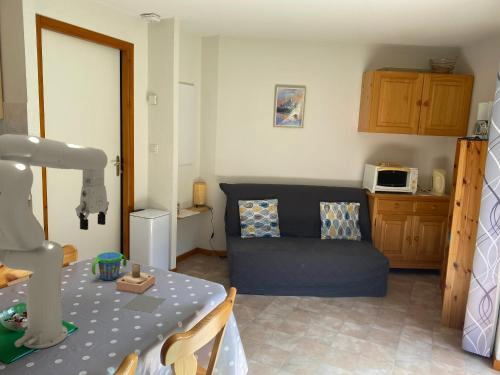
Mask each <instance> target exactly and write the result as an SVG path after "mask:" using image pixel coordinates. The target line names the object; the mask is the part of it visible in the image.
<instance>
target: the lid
mask: <svg viewBox="0 0 500 375" xmlns="http://www.w3.org/2000/svg"><path fill="white" fill-rule="evenodd" d="M131 272H132V273H130V272H129V273H127V274H125V275H124V276H123V277H124V281H125V282H127V283H142V282H145V281H147V280H148V273H145V272H141V264H139V263H134V264H132V265H131Z"/></svg>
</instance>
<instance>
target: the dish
mask: <svg viewBox="0 0 500 375" xmlns="http://www.w3.org/2000/svg"><path fill="white" fill-rule="evenodd" d="M129 273H132V271H131V272H129ZM147 274H148V273H147ZM155 284H156V275H154V274H148V280H147V281H145V282H142V283H127V282H125V281H124V276H123V277H121V278H119V279H118V280H116V281H115V290H116V291H119V292H120V291H121V292H125V293H131V294H136V295H139V294H140V295H143V294H144V293H145V292H146V291H148V290H149V289H150V288H151V287H153V286H154V285H155Z"/></svg>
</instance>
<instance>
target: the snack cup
mask: <svg viewBox="0 0 500 375" xmlns="http://www.w3.org/2000/svg"><path fill="white" fill-rule="evenodd" d="M122 259H123V261H122ZM127 263H128V262H127V258H126V256H125V255H124V254H122V253H120V252H116V251H114V252H113V251H109V252H106V251H105V252H102V253H100V254H97V256H96V259H95V260H93V263H92V265H91V273H92V274H93V275H96V265H98V270H99V276H100V278H101V280H104V281H111V280H115V279H118V278H119V275H120V271H121V264H122V266H123V267H124V268H126V267H127V265H128V264H127Z"/></svg>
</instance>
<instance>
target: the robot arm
mask: <svg viewBox="0 0 500 375" xmlns="http://www.w3.org/2000/svg"><path fill="white" fill-rule="evenodd" d="M108 160H109V159H108V156H107V154H106V152H105V151H104V150H103V149H99V148H96V147H95V148H94V147H91V146H85V145H80V144H74V143H70V142H64V141H59V140H54V139H48V138H45V137H41V136H36V135H31V134H30V135H26V134H11V133H10V134H9V133H5V134H2V135H0V264H1V265H3V266H4V267H5V268H7V269H11V270H17V271H26V272H31V273H32V275H31V277H30V278H29V280H28V281H27V283H26V286H25V295H26V316H27V317H26V320H27V321H26V322H27V323H26V324H27V328H26V329H25V330H24V334H23V336H22V337H20V338H19V339H17V340H16V341H14V346H15V347H16V348H19V347H22V346H24V347H25V348H29V349H46V348H50V347H53V346H55V345H58V344H60V343H61V342H63V341H64V340H65V339H66V338H67V336H68V332H69V331H68V328H67V327H66V326H64V325H63V320H62V319H63V310H62V309H63V308H62V307H63V305H62V304H63V303H62V302H63V301H62V269H63V263H64V258H65V251H64V248H63V246H62V245H61V244H59V243H58V242H56V241H53V240H46V234H45V230H44V228H43V226H42V225H41V223H40V222H39V220H38V219H37V217H36V216H35V215H34V213H33V211H32V210H31V208H30V206H29V198H30V194H31V191H32V190H31V189H32V187H33V184H34V173H33V171H32V168H31V167H38V168H39V167H41V168H48V169H49V168H50V169H58V170H59V169H61V170H79V171H82V180H81V182H82V185H81V190H80V198H79V205H78V206H76V207H75V212H76V216H77V217H78V220H79V229H80V230H83V231H88V230H89V219H88V217H89V216H90V215H91V214H92V215H93V214H97V224H98V225H99V226H100V225H101V226H105V225H106V215H107V211H108V210H109V205H110V202H109V200H108V195H107V188H106V185H105V169H106V167H107V166H108ZM30 166H31V167H30Z"/></svg>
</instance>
